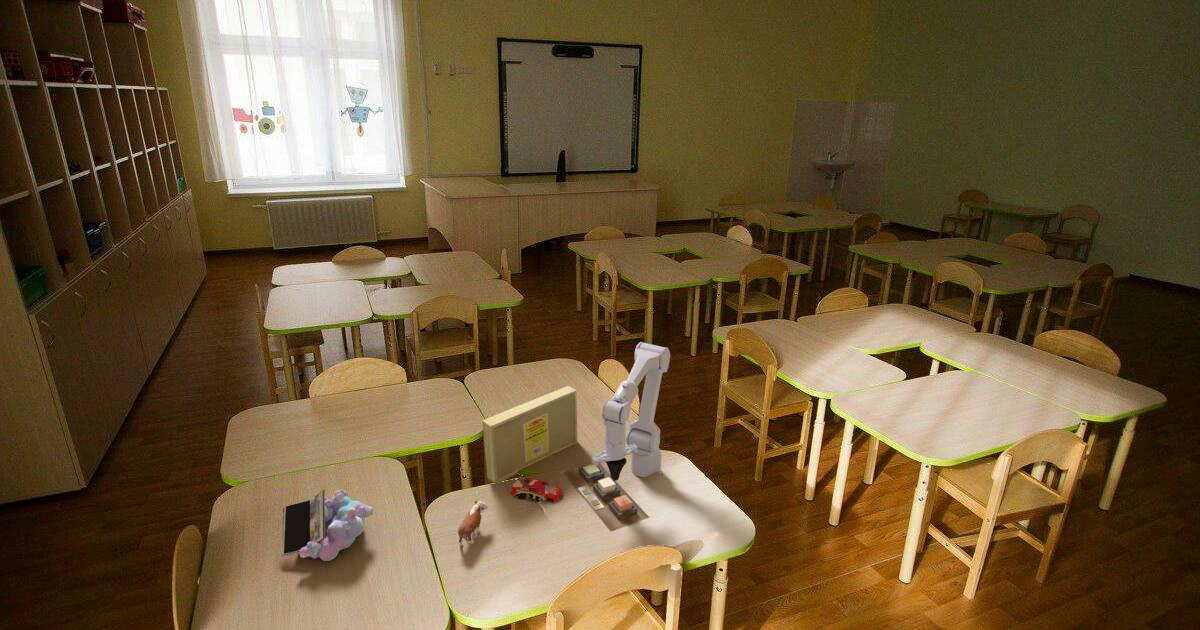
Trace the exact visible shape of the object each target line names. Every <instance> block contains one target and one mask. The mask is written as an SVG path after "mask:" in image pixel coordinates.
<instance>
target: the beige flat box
mask: <svg viewBox="0 0 1200 630" xmlns="http://www.w3.org/2000/svg"><path fill="white" fill-rule="evenodd" d="M577 394H578V393H577V389H575V388H573V387H571V386H569V385H566V386H564V387H562V388H559V389H556V390H555V391H552V392H550V393H547V394H544V395H542V396H539V397H537V398H535V399H531V400H529V401H527V402H523V403H521V404H519V405H516V406H515V407H512V408H509V409H507V410H504V411H502V412H500V413H498V414H495V415H492V416H489V417H487V418H485V419H483V420H482V432H483V443H484V454H485V462H486V463H485V465H486V475H487V479H488V480H489V481H490V482H492V483H493V484H494V485H497V484H500V483H502V482H504V481H505V480H508V479H509V478H512V477H514V476H515V475H517V474H519V473H520V472H519V471H521V470H523V469H525V467H526V468H527V467H528V466H531V465H534V464H535V463H537V462H539V461H542V460H543V459H546V458H547V457H549V456H552V455H553V454H556V453H558V452H560V451H562V450H564V449H566V448H569V447H571V446H572V445H575V444H577V443H578V442H579V441H578V407H577V406H578V405H577V404H578V402H577V401H578V396H577Z"/></svg>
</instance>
